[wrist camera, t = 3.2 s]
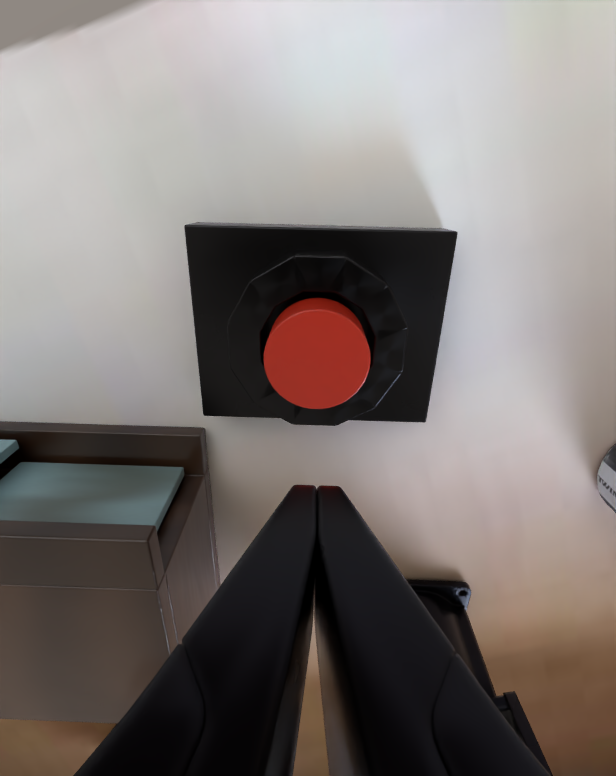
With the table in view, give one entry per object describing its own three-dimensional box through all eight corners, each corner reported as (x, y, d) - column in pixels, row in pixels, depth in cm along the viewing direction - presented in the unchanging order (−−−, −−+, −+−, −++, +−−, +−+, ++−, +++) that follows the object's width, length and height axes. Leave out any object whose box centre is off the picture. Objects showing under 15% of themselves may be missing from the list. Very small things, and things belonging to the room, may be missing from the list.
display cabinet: (204, 427, 20) (147, 541, 14) (220, 584, 25) (184, 726, 18) (-148, 416, 21) (-377, 523, 14) (-65, 574, 25) (-204, 711, 19)
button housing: (445, 228, 16) (476, 235, 13) (417, 405, 20) (436, 445, 16) (196, 222, 16) (167, 227, 13) (212, 399, 20) (191, 437, 17)
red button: (369, 298, 14) (375, 311, 13) (361, 390, 16) (366, 411, 14) (268, 295, 14) (261, 307, 13) (269, 387, 16) (264, 408, 14)
